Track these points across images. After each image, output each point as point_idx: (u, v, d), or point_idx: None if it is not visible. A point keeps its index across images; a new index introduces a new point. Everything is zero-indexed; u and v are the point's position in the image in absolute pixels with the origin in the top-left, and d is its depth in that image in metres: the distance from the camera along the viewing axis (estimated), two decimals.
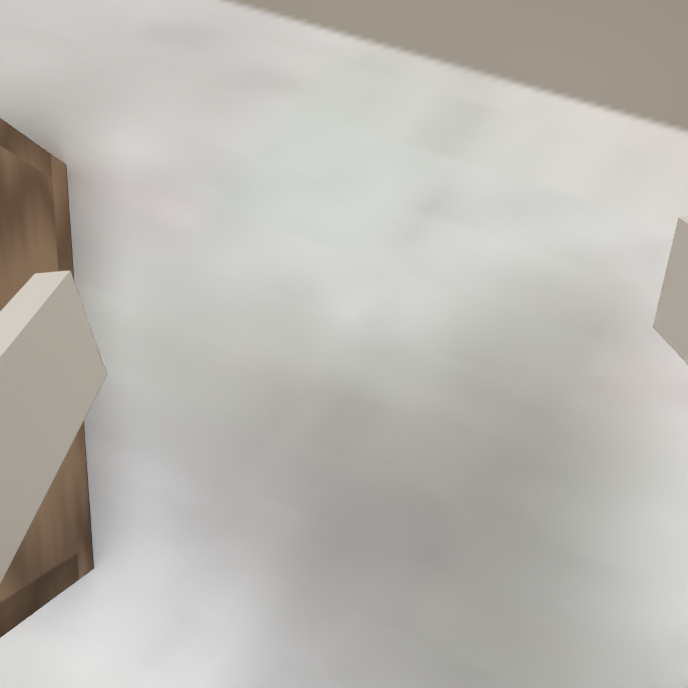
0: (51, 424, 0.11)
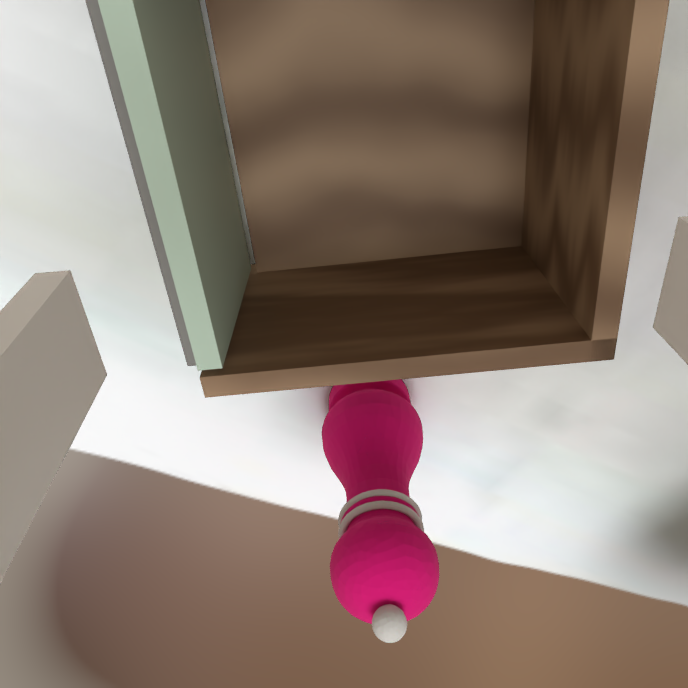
0: (51, 424, 0.11)
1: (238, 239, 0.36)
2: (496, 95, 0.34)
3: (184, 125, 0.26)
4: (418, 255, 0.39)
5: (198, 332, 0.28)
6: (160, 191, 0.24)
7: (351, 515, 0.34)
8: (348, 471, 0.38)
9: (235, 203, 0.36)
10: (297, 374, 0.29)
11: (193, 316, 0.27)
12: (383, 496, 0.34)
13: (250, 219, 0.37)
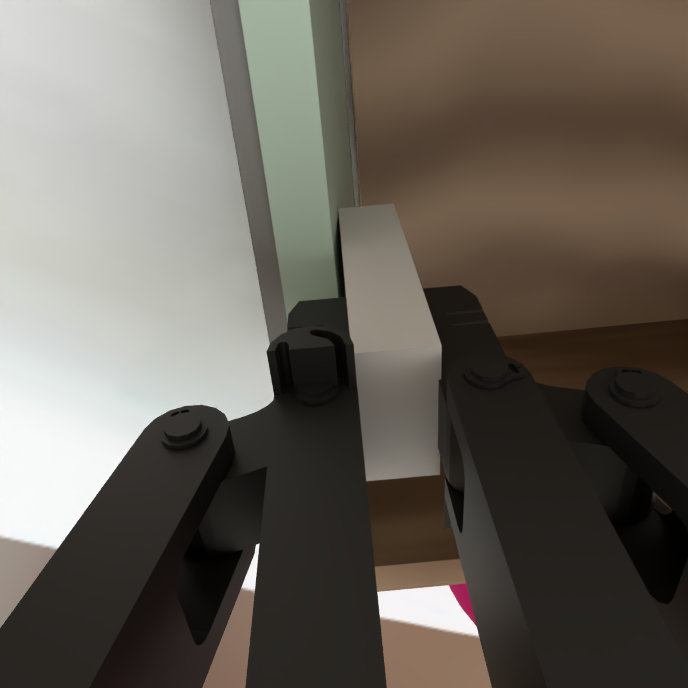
0: None
1: None
2: None
3: (337, 170, 0.15)
4: (596, 326, 0.28)
5: None
6: None
7: None
8: None
9: None
10: None
11: None
12: None
13: None
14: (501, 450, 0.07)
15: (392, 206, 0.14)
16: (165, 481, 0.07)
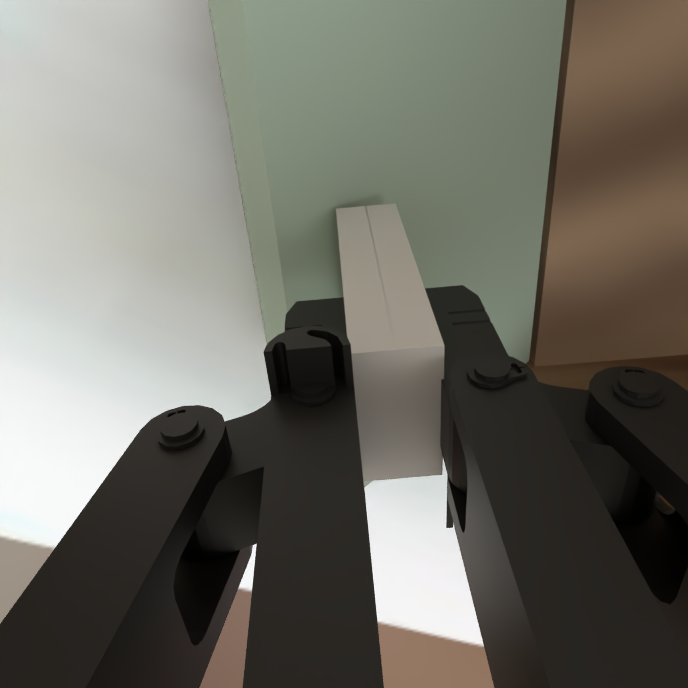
0: None
1: (502, 324, 0.23)
2: None
3: (372, 160, 0.15)
4: None
5: None
6: (262, 264, 0.15)
7: None
8: None
9: (524, 270, 0.23)
10: None
11: None
12: None
13: (548, 292, 0.24)
14: (504, 449, 0.07)
15: (394, 206, 0.14)
16: (162, 481, 0.07)
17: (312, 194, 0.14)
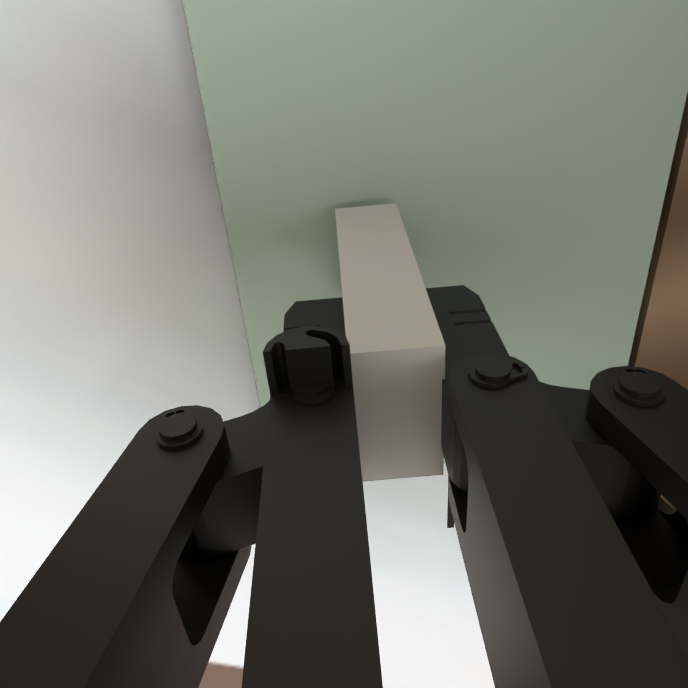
0: None
1: (562, 377, 0.19)
2: None
3: (350, 161, 0.15)
4: None
5: None
6: None
7: None
8: None
9: (608, 323, 0.19)
10: None
11: None
12: None
13: (644, 353, 0.20)
14: (504, 449, 0.07)
15: (394, 206, 0.14)
16: (161, 481, 0.07)
17: (268, 185, 0.14)
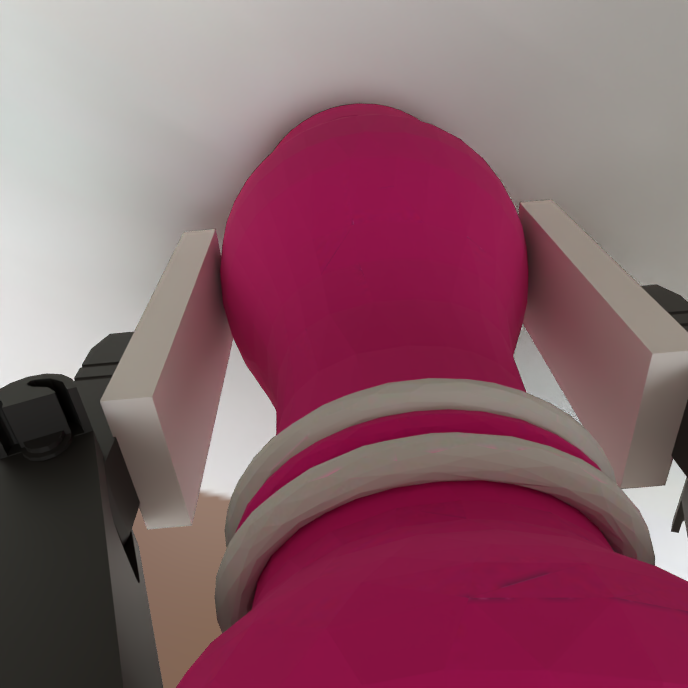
0: (214, 361, 0.13)
1: None
2: None
3: None
4: None
5: None
6: None
7: (275, 518, 0.06)
8: (287, 339, 0.10)
9: None
10: None
11: None
12: (459, 412, 0.06)
13: None
14: None
15: (552, 202, 0.14)
16: None
17: None
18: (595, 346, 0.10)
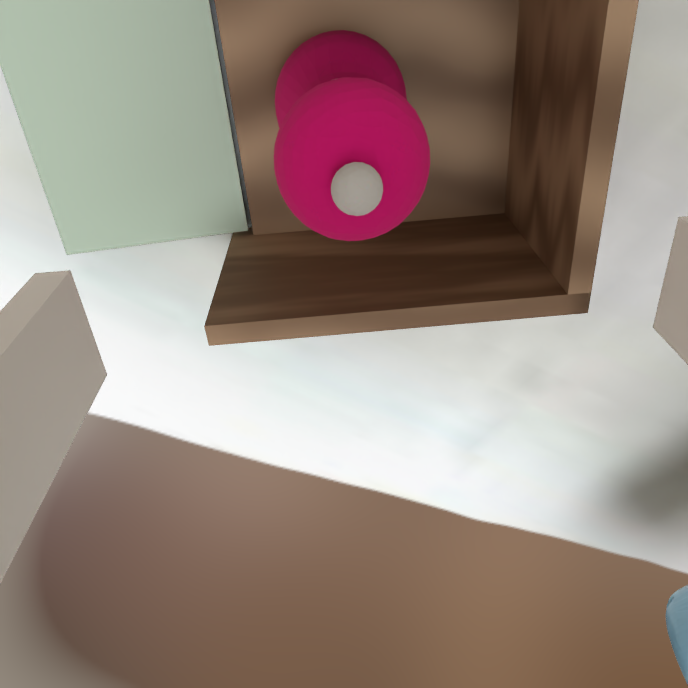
0: (51, 424, 0.11)
1: (206, 194, 0.39)
2: (483, 67, 0.36)
3: (65, 76, 0.34)
4: (407, 220, 0.41)
5: None
6: None
7: None
8: None
9: (220, 164, 0.38)
10: (296, 324, 0.31)
11: None
12: None
13: (248, 183, 0.39)
14: None
15: None
16: None
17: (30, 86, 0.34)
18: None
